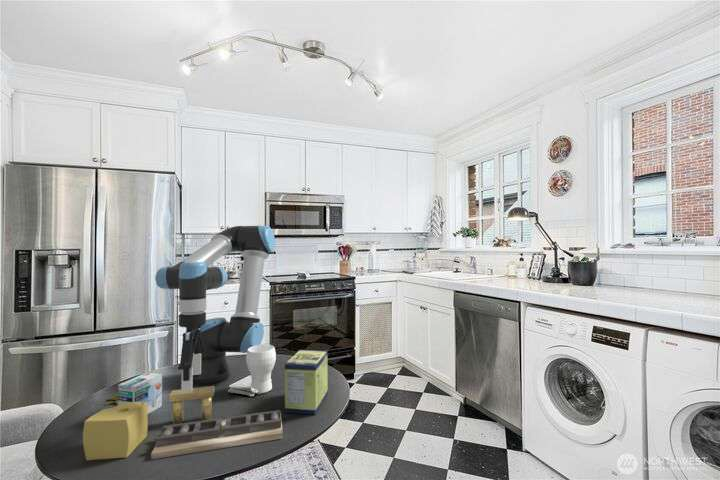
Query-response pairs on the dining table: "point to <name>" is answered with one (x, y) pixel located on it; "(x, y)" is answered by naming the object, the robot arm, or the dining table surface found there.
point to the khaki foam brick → (196, 393)
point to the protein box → (306, 381)
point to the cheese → (115, 431)
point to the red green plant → (113, 400)
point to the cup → (261, 366)
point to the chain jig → (217, 434)
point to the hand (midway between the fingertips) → (191, 382)
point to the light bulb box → (142, 390)
